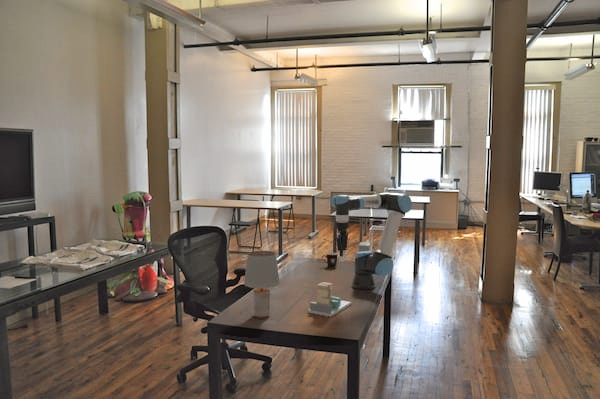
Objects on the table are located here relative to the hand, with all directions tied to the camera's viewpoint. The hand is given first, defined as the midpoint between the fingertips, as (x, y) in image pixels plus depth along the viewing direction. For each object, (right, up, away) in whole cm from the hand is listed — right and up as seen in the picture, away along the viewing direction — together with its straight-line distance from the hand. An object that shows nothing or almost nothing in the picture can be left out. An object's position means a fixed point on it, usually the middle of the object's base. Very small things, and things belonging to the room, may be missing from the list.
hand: (342, 261), depth 285 cm
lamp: (-45, -26, -26) cm, 58 cm away
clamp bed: (-8, -25, -13) cm, 29 cm away
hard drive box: (+23, -16, +77) cm, 82 cm away
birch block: (-11, -24, -18) cm, 32 cm away
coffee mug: (-2, -15, +87) cm, 89 cm away
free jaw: (-7, -23, -12) cm, 27 cm away
